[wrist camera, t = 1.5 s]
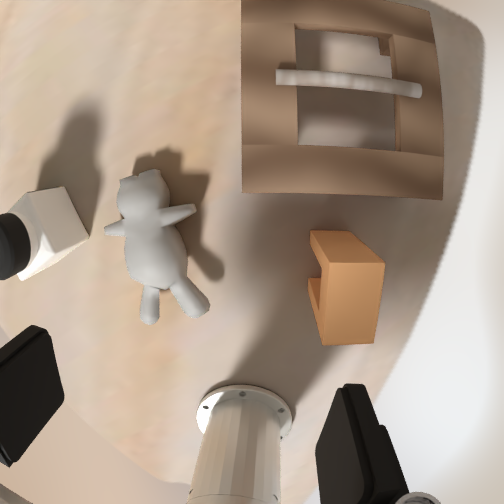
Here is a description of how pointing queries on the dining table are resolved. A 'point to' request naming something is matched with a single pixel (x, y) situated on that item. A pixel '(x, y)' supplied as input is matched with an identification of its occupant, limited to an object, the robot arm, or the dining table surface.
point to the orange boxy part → (345, 288)
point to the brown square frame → (287, 78)
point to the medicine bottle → (38, 232)
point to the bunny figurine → (155, 244)
